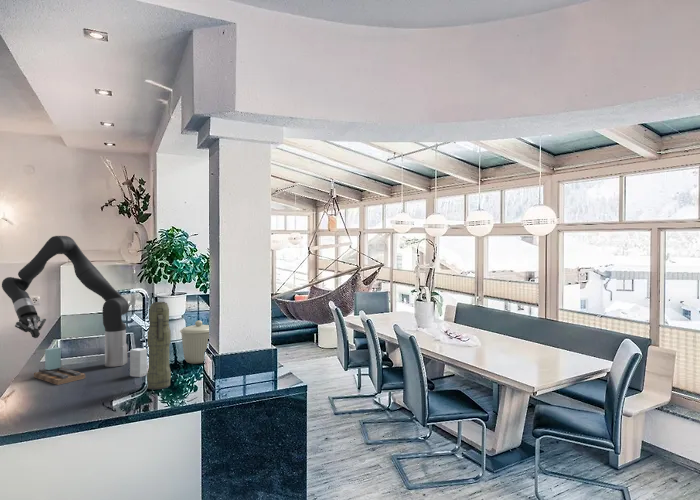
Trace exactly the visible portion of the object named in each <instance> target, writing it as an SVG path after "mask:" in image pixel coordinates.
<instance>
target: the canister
mask: <svg viewBox="0 0 700 500" xmlns="http://www.w3.org/2000/svg"><path fill="white" fill-rule="evenodd" d="M209 325H210V324H203V321H202V320H201V319H200V320H196V321H195V322H194V325H193V324H192V325H187V326H185V327H183V328H182V329H180V330H179V333H180V334H181V342H182V344H181V345H182V352H183V357H184V361H186V363H187V364H188V363H189V364H192V365H194V364H195V365H197V364H204V363H203V361H204V352H205V351H206V349H207V343H208V339H209Z"/></svg>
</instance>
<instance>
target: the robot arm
mask: <svg viewBox="0 0 700 500" xmlns="http://www.w3.org/2000/svg"><path fill="white" fill-rule="evenodd" d="M56 255H64V256H65V257H66V258H68V260H69V261H70V262H71V264H72V266H73V269H74V273H75V276H76V278H77V279H78V280H79V281H80V283H82V284H83V285H84V287H85V288H87V289H88V290H89V291H91V292H93V293H94V294H97V295H98V296H99V297H101V298H102V299H103V300H104V301H105V302H104V303H103V305H102V325H103V326H104V366H105V367H107V368H109V367H110V368H114V367H121V366H122V367H123V366H125V365H126V364H128V343H127V334H126V333H127V325H126V323H125V322H123V320H122V316H124V315H125V314H127V313H128V312H129V309H130V304H129V302H128V300H127V299H126V298H125V297H124V296H122V295H121V293H119V292H118V291H117V290H116V289H115V288H114V287H113V286H112V285H111V284H110V282H109V281H108V280H107V279H106V278H105V277H104V275H103V274H102V273H101V272H100V271H99V270H98V268H97V267H95V265H94V264H93V263H92V262H91V260H89V258H87V256H86V255H85V254H84V252H82V249H80V247H79V246H78V244H77V242H76V241H75V240H74V239H73V238H72V237H70V236H67V235H54V236H51V237H50V238H49V239H48V240H47V241H46V242H45V244H43V246H42V247H41V249H40V250H39V251H37V254H35V256H34V257H33V258H32V259H31V260H30V261H28V263H27V264H26V265H24V266H23V267H22V268H21V269H20V270H19V271H18V274H17V275H18V277H12V276H10V277H9V276H8V277H5V278H4V279H3V280H2V282H1V288H2V290H3V292H4V293H5V294H6V295H7V297H8V298H10V301H11V302H12V304H13V308H14V312H15V313H16V316H17V319H18V321H17V322H15V325H14V327H15V328H16V329H19V330H21V331H23V332H25V333H30V335H31V338H33V339H38V338H39V337H40V333H41V332H40V331H41V329H42V328H43V326H44V325H45V323H46V321H47V319H46V318H41V317H40V316H39V315H38V311H37V310H36V307H35V304H34V302H33V301H32V299H31V298H30V297H31V296H30V295H29V293H28V292H27V290H28V288H29V287H30V285H31V283H32V282H33V280H34V279H35V278H36V277H38V275H40V274H41V272H43V271H44V269H45V266H46V264H47V263H48V262H49V260H50V259H52V258H53V257H55V256H56ZM38 323H39V325H38Z"/></svg>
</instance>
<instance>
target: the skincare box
mask: <svg viewBox="0 0 700 500" xmlns="http://www.w3.org/2000/svg"><path fill="white" fill-rule="evenodd" d="M147 373H148V349H147V348H142V347H141V348H140V347H137V348H133V349H130V350H129V376H130V377H133V378H134V377H135V378H142V377H145V376H147Z"/></svg>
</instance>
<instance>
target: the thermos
mask: <svg viewBox="0 0 700 500" xmlns="http://www.w3.org/2000/svg"><path fill="white" fill-rule="evenodd" d="M148 311H149V313H148V314H149V315H148V316H149V317H148V321H149V324H148V331H147V347H148V368H147V375H146V376H147V379H146V381H147V389H149V390H162V389H166V388H169V387H170V386H171V379H172V378H171V377H172V375H171V373H172V371H171V367H170V345H171V342H172V341H171V340H172V339H171V338H172V337H171V334H172V333H171V328H170V323H169V321H170V308H169V305H168V303H167V302H166V301H156V302H155V301H154V302H153V303H151V304H150V307H149V310H148Z"/></svg>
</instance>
